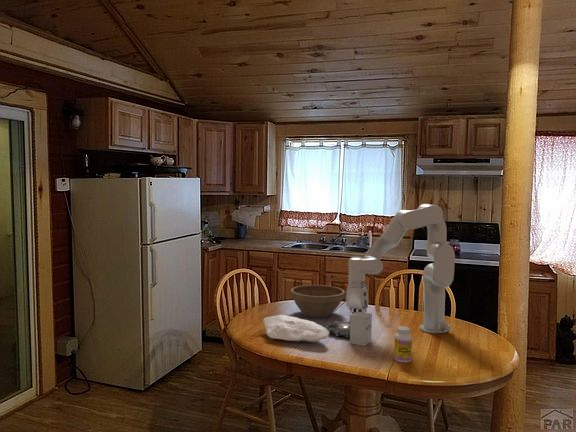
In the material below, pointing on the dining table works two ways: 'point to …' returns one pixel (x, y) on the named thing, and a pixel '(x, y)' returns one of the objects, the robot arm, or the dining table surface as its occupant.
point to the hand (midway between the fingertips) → (356, 322)
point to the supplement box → (360, 328)
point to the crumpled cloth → (294, 329)
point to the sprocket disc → (339, 328)
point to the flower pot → (317, 299)
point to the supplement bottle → (403, 345)
